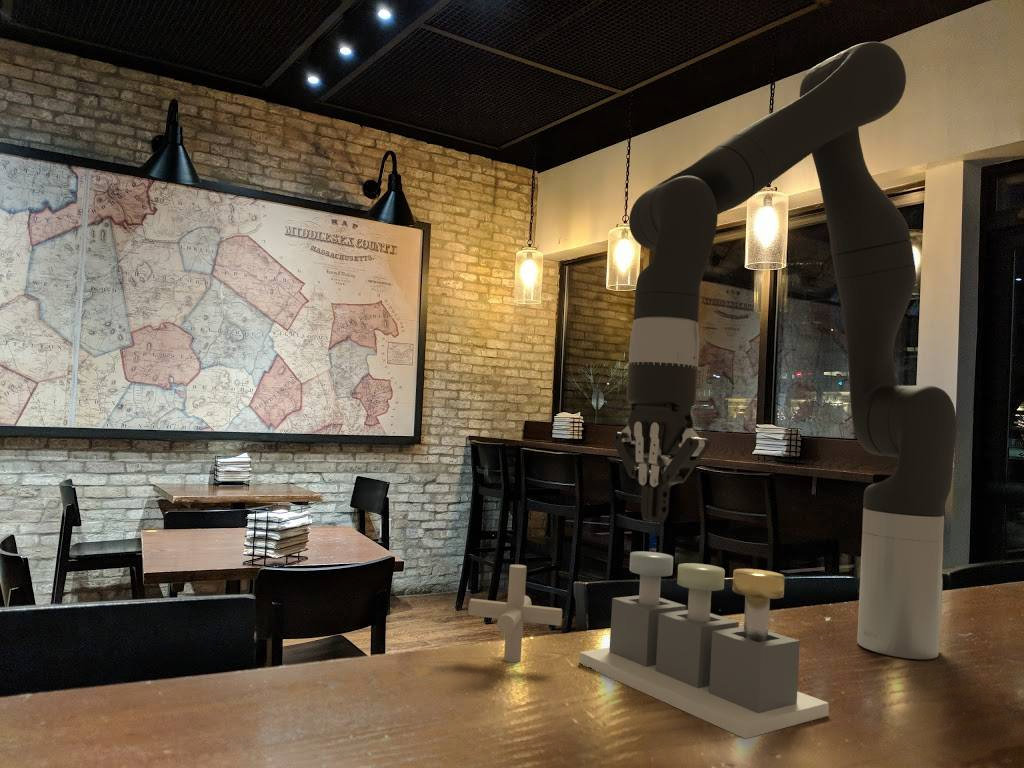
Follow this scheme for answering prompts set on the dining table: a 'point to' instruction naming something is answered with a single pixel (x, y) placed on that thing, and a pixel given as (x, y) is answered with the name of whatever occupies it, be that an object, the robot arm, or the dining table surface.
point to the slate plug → (650, 574)
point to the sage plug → (700, 588)
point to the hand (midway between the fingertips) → (653, 520)
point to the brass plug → (757, 599)
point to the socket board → (706, 667)
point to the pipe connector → (515, 613)
